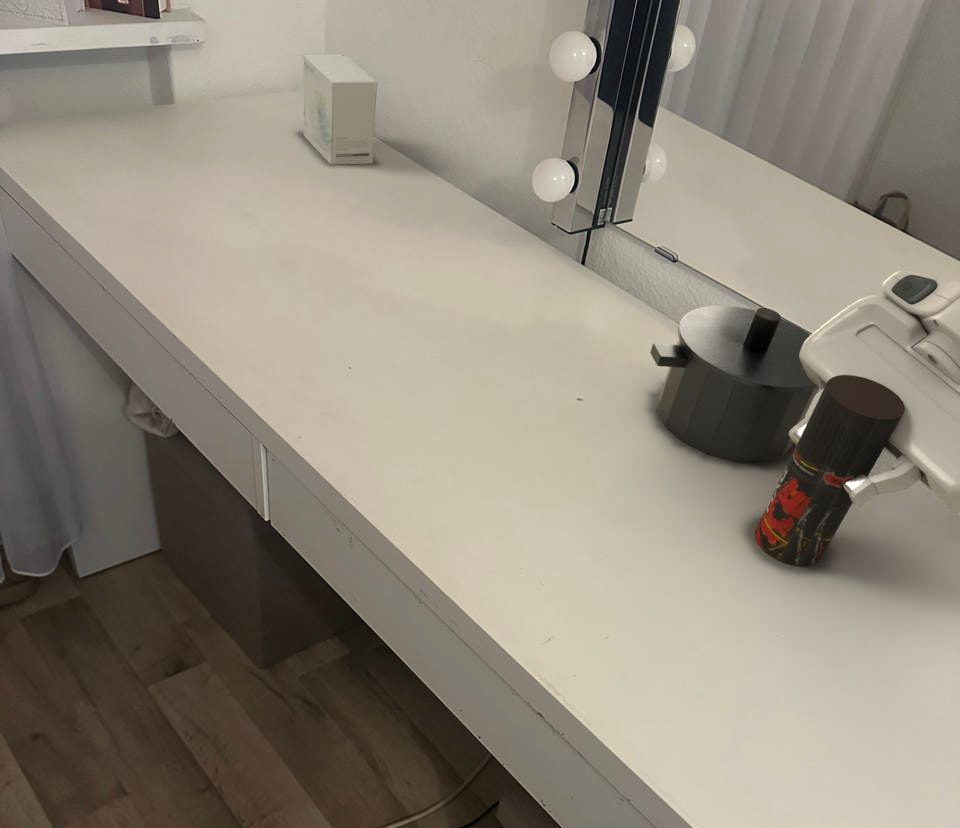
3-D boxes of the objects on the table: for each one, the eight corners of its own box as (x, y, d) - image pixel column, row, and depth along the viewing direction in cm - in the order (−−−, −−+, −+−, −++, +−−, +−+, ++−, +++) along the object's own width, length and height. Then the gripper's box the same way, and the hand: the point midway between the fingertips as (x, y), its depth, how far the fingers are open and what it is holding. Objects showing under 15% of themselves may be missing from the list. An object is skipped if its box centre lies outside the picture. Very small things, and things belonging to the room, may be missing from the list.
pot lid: (656, 310, 88) (669, 269, 85) (791, 321, 91) (808, 282, 88) (704, 394, 78) (721, 351, 75) (854, 402, 81) (875, 361, 78)
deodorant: (827, 575, 76) (915, 424, 66) (759, 566, 76) (838, 413, 65) (810, 530, 80) (891, 381, 70) (746, 521, 80) (817, 369, 69)
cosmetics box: (300, 138, 125) (301, 51, 118) (344, 138, 128) (348, 53, 120) (328, 169, 119) (332, 79, 112) (373, 168, 122) (379, 80, 115)
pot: (615, 384, 93) (638, 305, 87) (782, 393, 97) (815, 319, 91) (652, 464, 84) (681, 383, 78) (835, 471, 88) (876, 394, 82)
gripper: (1084, 452, 64) (913, 573, 68) (899, 310, 77) (762, 418, 80) (1080, 403, 60) (897, 535, 63) (884, 259, 72) (740, 377, 75)
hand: (820, 468), depth 72 cm, fingers closed on deodorant, 6 cm apart
